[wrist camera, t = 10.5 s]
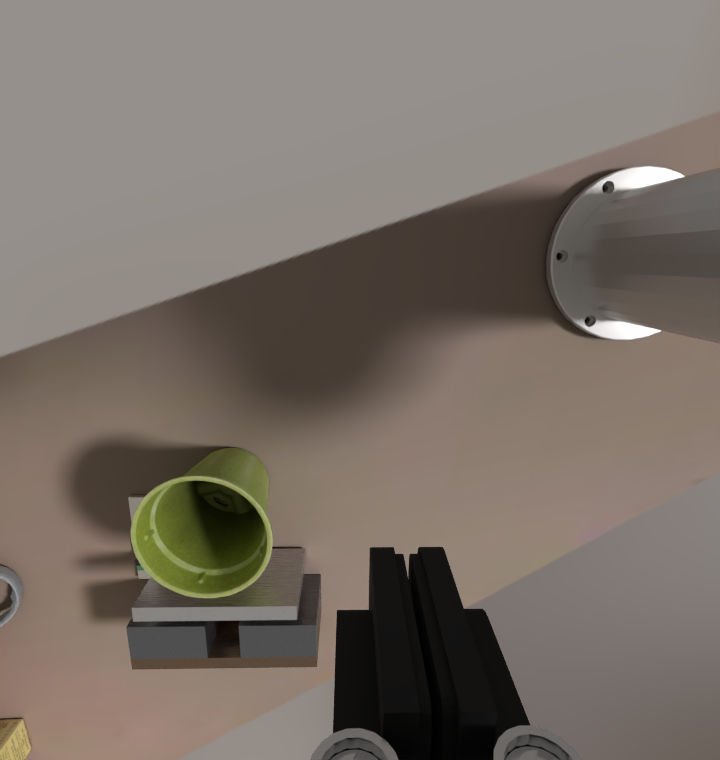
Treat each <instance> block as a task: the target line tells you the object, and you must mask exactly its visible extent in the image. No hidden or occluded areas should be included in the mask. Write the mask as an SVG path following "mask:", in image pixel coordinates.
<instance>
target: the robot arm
mask: <svg viewBox="0 0 720 760" xmlns="http://www.w3.org/2000/svg"><path fill="white" fill-rule="evenodd" d="M602 186H603V187H604V189H605V190H604V192H603V191H602ZM557 253H559V254H560V257H559V259H558V260H557V258H556V255H557ZM546 275H547V281H548V285H549V290H550V293H551V295H552V297H553V299H554V302H555V304H556V306H557V307H558V309H559V310H560V311H561V313H562V314H563V315H564V317H565V318H566V319H568V320H569V321H570V322H571V323H572V324H573V325H574V326H575V327H577V328H579V329H581V330H583V331H584V332H586V333H588V334H591V335H594V336H597V337H600V338H605V339H609V340H616V341H630V340H635V339H641V338H645V337H648V336H651V335H654V334H656V333H659V332H661V331H666V332H670V333H675V334H679V335H684V336H688V337H693V338H697V339H702V340H706V341H711V342H715V343H720V168H717V169H713V170H709V171H705V172H701V173H697V174H693V175H689V176H685V175H683V174H682V173H680V172H678V171H675V170H672V169H669V168H666V167H661V166H653V165H644V166H632V167H629V168H625V169H622V170H618V171H615V172H613V173H610V174H608V175H605V176H603V177H601V178H599V179H598V180H596V181H594V182H593V183H591V184H590V185H588V186H586V187H585V188H584V189H583V190H582V191H581V192H580V193H579V194H578V195H577V196H575V197H574V198H573V199H572V201H571V202H570V203H569V205H568V206H567V207H566V208H565V210H564V211H563V212H562V214H561V216H560V218H559V220H558V221H557V223H556V225H555V227H554V229H553V232H552V235H551V238H550V241H549V244H548V251H547V257H546ZM586 317H587V321H586V322H584V321H585V318H586ZM333 723H334V724H333V734H332V735H330V736H329V737H328V738H326V739H325V740H324V741H322V742H321V744H320V745H319V746H318V748H317V749H316V750H315V752H314V753H313V755H312V757H311V760H583V759H582V758H581V757H580V755H579V754H578V753H577V752H576V750H575V749H574V748H573V747H572V746H570V745H569V744H568V743H567V742H566V741H564V740H563V739H562V738H561V737H559V736H557V735H556V734H554V733H552V732H550V731H548V730H547V729H543V728H539V727H536V726H531V725H530V723H529V721H528V718H527V716H526V713H525V711H524V708H523V706H522V703H521V700H520V698H519V695H518V693H517V690H516V688H515V685H514V682H513V680H512V677H511V675H510V672H509V670H508V667H507V665H506V662H505V660H504V657H503V654H502V652H501V650H500V647H499V644H498V642H497V639H496V637H495V634H494V632H493V629H492V626H491V624H490V621H489V619H488V616H487V615H486V612H485V611H484V610H483V609H464V608H463V605H462V602H461V599H460V596H459V593H458V590H457V587H456V584H455V581H454V578H453V575H452V572H451V569H450V566H449V563H448V560H447V557H446V554H445V551H444V549H443V547H419V548H418V554H410V556H409V576H407V571H406V566H405V560H404V555H403V554H395V551H394V548H393V547H373V548H370V571H369V610H337V627H336V658H335V691H334V721H333Z"/></svg>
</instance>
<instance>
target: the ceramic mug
mask: <svg viewBox="0 0 720 760" xmlns="http://www.w3.org/2000/svg"><path fill="white" fill-rule="evenodd" d="M0 580H3V581H5V582H7V583H9V584H10V586H11V588H12V594H11V596H10V598H11V599H12V604H11V608H10V609H9V610H8V611H6V612H5V613H4V614H3V615H1V616H0V627H1V626H3V625H4V624H5V623H6V622H8V621H9V620H10V619H11V618H12V617H13V615H14V614H15V613H16V611H17V609H18V607H19V605H20V602H21V600H22V596H23V586H22V583H21V580H20V578H19V577H18V575H17V574H16V573H15V572H14V571H13V570H11V569H9V568H7V567H4V566H1V565H0Z"/></svg>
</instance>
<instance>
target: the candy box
mask: <svg viewBox="0 0 720 760" xmlns="http://www.w3.org/2000/svg"><path fill="white" fill-rule="evenodd" d="M30 750H31V744H30V741H29V738H28V734H27V731H26V727H25V724H24V720H23V719H5V720H0V760H24V759H25V758H26V756H27V755H28V753H29V752H30Z"/></svg>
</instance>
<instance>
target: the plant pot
mask: <svg viewBox="0 0 720 760" xmlns="http://www.w3.org/2000/svg"><path fill="white" fill-rule="evenodd" d="M268 489H269V479H268V475H267V472H266V470H265V467H264V465H263V463H262V462H261V461H260V460H259V459H258V458H257V457H256V456H255V455H253V454H252V453H250V452H248V451H246V450H243V449H239V448H225V449H220V450H217V451H214V452H212V453H210V454H209V455H207V456H206V457H205V458H204V459H202V460H201V461H200V462H199V463H198V464H196V465H195V466H194V467H193V468H192V469H190V470H189V471H188V472H187V473H186V474H184V475H183V476H180V477H176V478H173V479H170V480H168V481H165V482H163V483H161V484H160V485H158V486H156V487H155V488H154V489H152V490H151V491H150V492H149V493H148V494H147V495H146V496H145V497H144V498H143V499H142V501H141V502H140V504H139V505H138V507H137V509H136V511H135V513H134V516H133V519H132V524H131V542H132V546H133V550H134V553H135V555H136V558H137V559H138V561H139V563H140V564H141V566H142V567H143V569H144V570H145V571H146V572H147V573H148V574H149V575H150V576H151V577H152V578H153V579H154V580H155V581H157V582H158V583H160V584H161V585H162V586H164V587H166V588H168V589H170V590H172V591H174V592H177V593H179V594H182V595H185V596H190V597H195V598H218V597H225V596H229V595H232V594H235V593H237V592H239V591H241V590H243V589H245V588H247V587H248V586H250V585H251V584H252V583H253V582H255V581H256V580H257V579H258V578H259V577H260V575H261V574H262V572H263V571H264V570H265V568H266V566H267V564H268V562H269V559H270V556H271V551H272V544H273V536H272V529H271V525H270V521H269V519H268V517H267V501H268ZM214 497H216V498H218V499H220V500H221V501H223V502H226V503H228V506H224V505H221V504H219V503H217V502H216V501H215V500H214Z"/></svg>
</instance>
